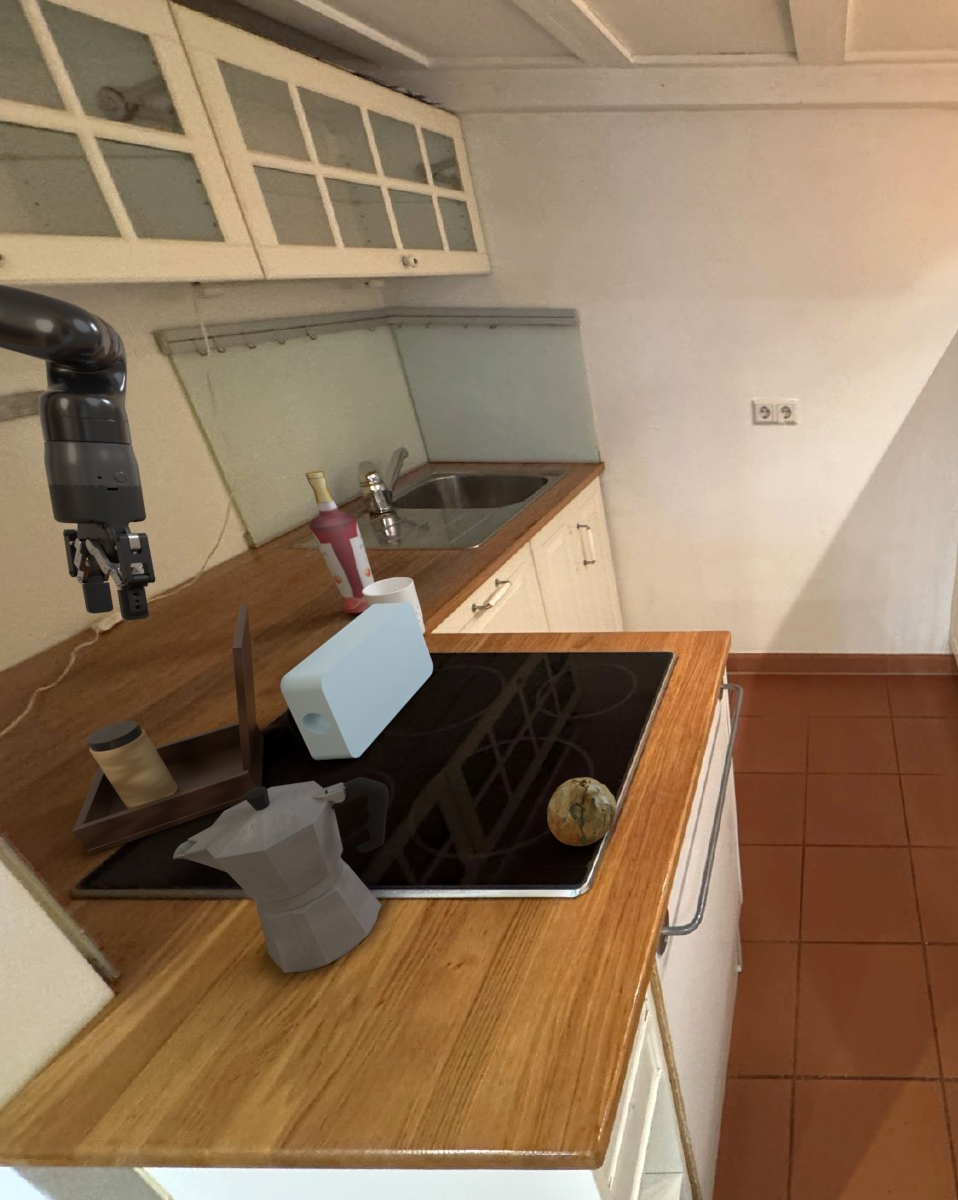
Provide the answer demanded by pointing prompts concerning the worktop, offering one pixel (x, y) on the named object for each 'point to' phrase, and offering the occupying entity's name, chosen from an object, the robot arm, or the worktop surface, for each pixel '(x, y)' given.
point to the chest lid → (244, 686)
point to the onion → (581, 811)
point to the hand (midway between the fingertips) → (118, 615)
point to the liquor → (340, 546)
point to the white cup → (394, 594)
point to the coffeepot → (297, 867)
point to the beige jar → (131, 763)
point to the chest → (204, 787)
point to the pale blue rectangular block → (358, 681)
